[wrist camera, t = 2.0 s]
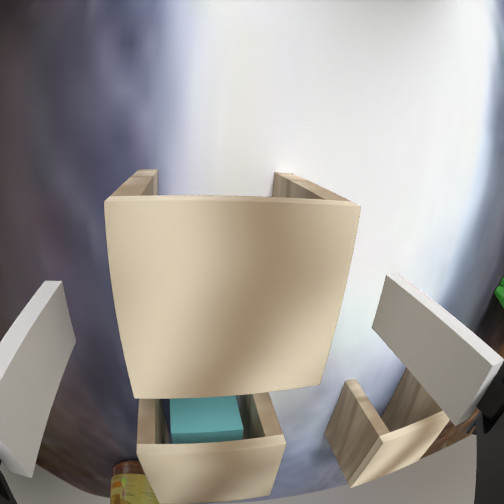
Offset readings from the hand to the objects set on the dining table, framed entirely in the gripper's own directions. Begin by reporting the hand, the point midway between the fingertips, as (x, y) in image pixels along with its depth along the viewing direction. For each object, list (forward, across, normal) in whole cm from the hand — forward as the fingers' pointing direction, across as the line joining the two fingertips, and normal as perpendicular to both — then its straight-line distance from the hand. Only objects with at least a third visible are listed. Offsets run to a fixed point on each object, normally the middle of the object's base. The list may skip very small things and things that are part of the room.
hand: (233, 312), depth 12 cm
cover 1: (+6, 0, +1) cm, 6 cm away
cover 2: (+6, -1, -12) cm, 14 cm away
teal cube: (+6, -1, -12) cm, 14 cm away
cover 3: (+7, +15, -16) cm, 23 cm away
